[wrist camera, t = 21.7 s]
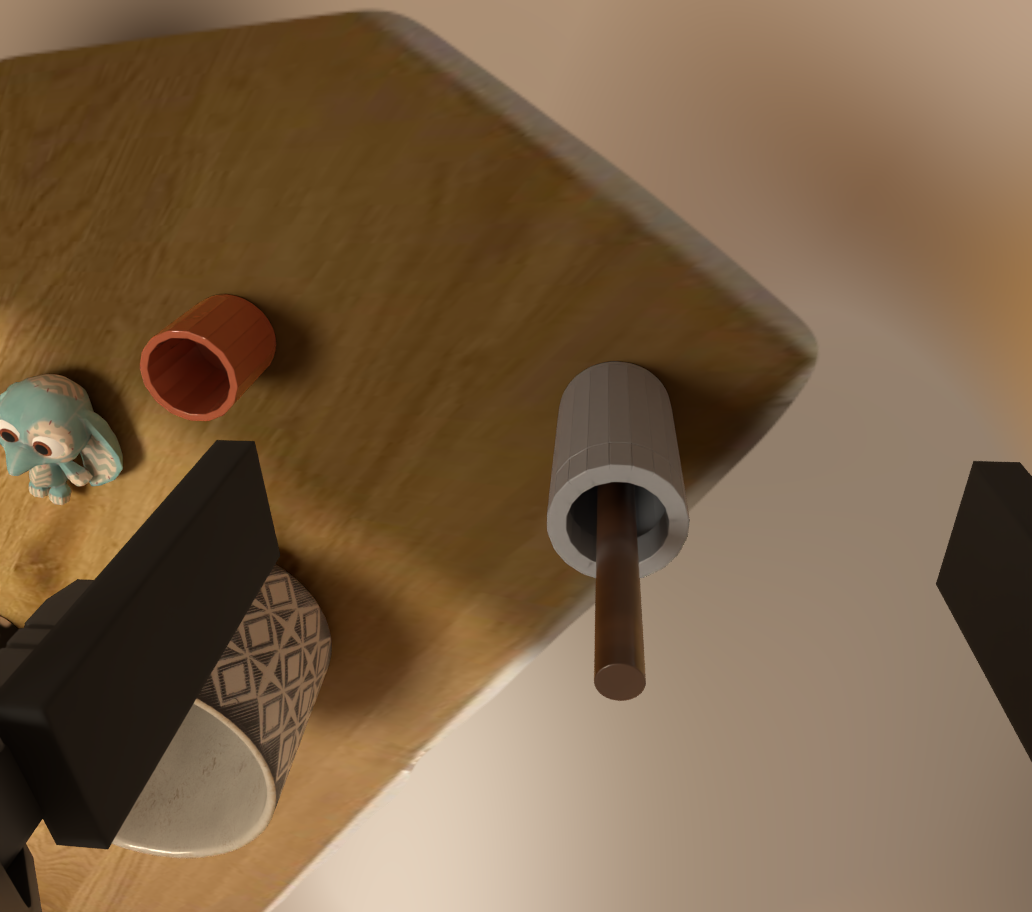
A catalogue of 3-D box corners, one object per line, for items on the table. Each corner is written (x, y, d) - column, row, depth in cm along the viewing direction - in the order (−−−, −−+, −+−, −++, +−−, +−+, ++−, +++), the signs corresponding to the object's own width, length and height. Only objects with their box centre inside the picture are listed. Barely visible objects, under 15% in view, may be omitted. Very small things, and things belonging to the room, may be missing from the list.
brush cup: (268, 294, 54) (226, 332, 48) (282, 378, 57) (244, 422, 51) (181, 293, 55) (129, 329, 49) (200, 375, 58) (153, 419, 52)
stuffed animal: (-55, 508, 59) (-76, 391, 52) (7, 448, 65) (-3, 334, 57) (86, 559, 61) (86, 453, 53) (136, 496, 66) (142, 391, 58)
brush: (642, 395, 55) (665, 654, 33) (638, 441, 56) (659, 715, 35) (589, 393, 55) (578, 649, 33) (587, 439, 57) (576, 709, 35)
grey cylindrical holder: (675, 362, 54) (695, 467, 42) (666, 462, 58) (682, 584, 46) (560, 359, 55) (547, 462, 42) (558, 458, 58) (546, 577, 46)
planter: (387, 631, 69) (331, 796, 54) (252, 723, 76) (172, 888, 62) (212, 483, 63) (98, 625, 48) (85, 599, 70) (-47, 751, 56)
